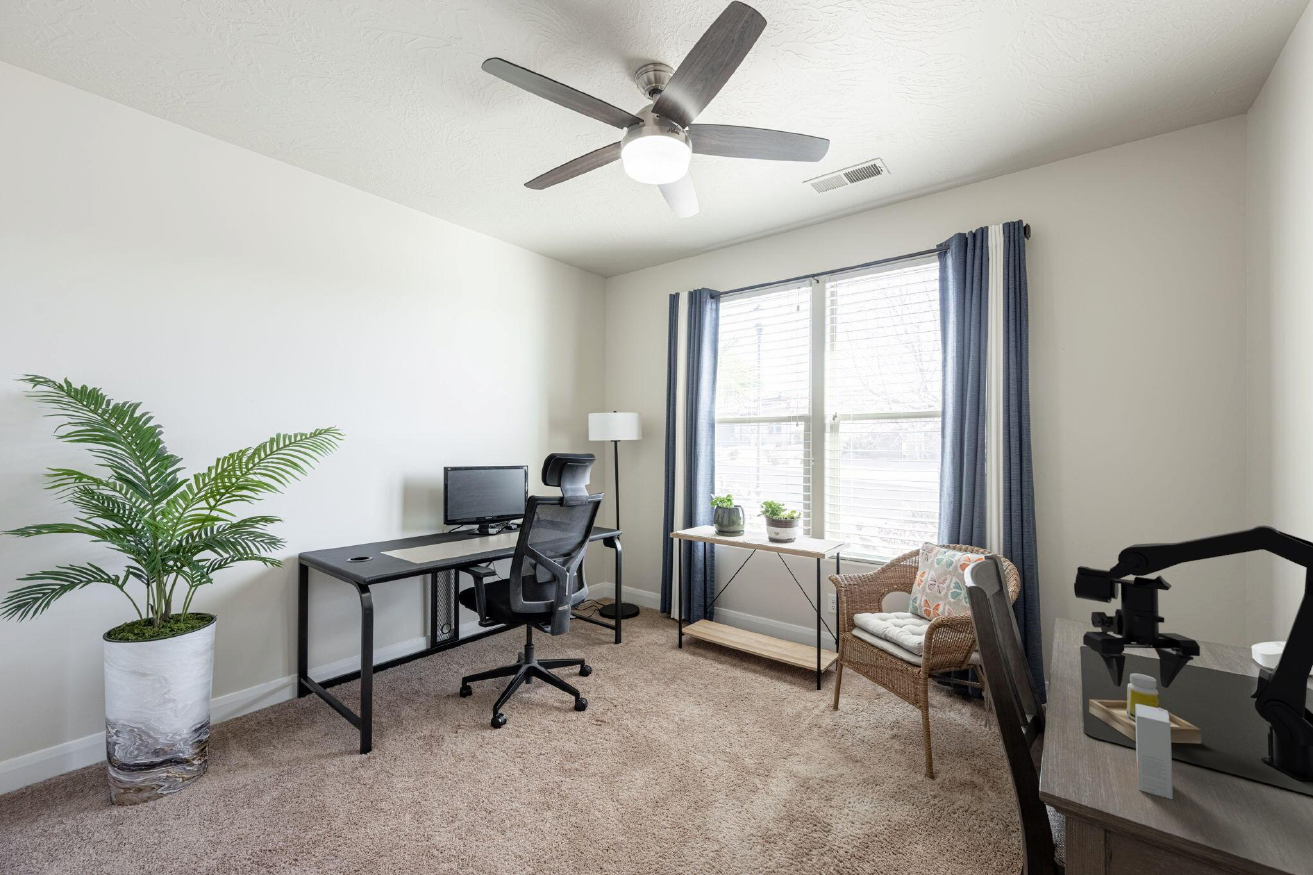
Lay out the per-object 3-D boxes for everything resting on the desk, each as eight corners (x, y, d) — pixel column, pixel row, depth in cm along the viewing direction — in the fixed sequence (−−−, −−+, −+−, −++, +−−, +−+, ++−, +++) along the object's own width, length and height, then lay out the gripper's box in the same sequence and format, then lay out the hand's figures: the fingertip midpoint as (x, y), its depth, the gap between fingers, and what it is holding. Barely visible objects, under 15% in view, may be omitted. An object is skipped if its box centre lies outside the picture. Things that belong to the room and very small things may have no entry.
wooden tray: (1201, 746, 105) (1201, 729, 105) (1134, 744, 106) (1134, 727, 106) (1149, 716, 117) (1148, 701, 117) (1089, 714, 118) (1089, 699, 118)
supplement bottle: (1163, 726, 109) (1165, 683, 109) (1135, 723, 110) (1136, 680, 110) (1148, 715, 113) (1149, 673, 114) (1121, 712, 114) (1122, 670, 115)
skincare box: (1136, 773, 95) (1134, 702, 95) (1170, 783, 92) (1168, 709, 92) (1137, 790, 90) (1136, 715, 90) (1173, 800, 87) (1171, 723, 88)
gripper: (1153, 598, 120) (1154, 672, 119) (1064, 596, 121) (1065, 669, 120) (1202, 613, 109) (1203, 694, 108) (1103, 611, 110) (1104, 691, 109)
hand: (1140, 686), depth 112 cm, fingers open, 9 cm apart
